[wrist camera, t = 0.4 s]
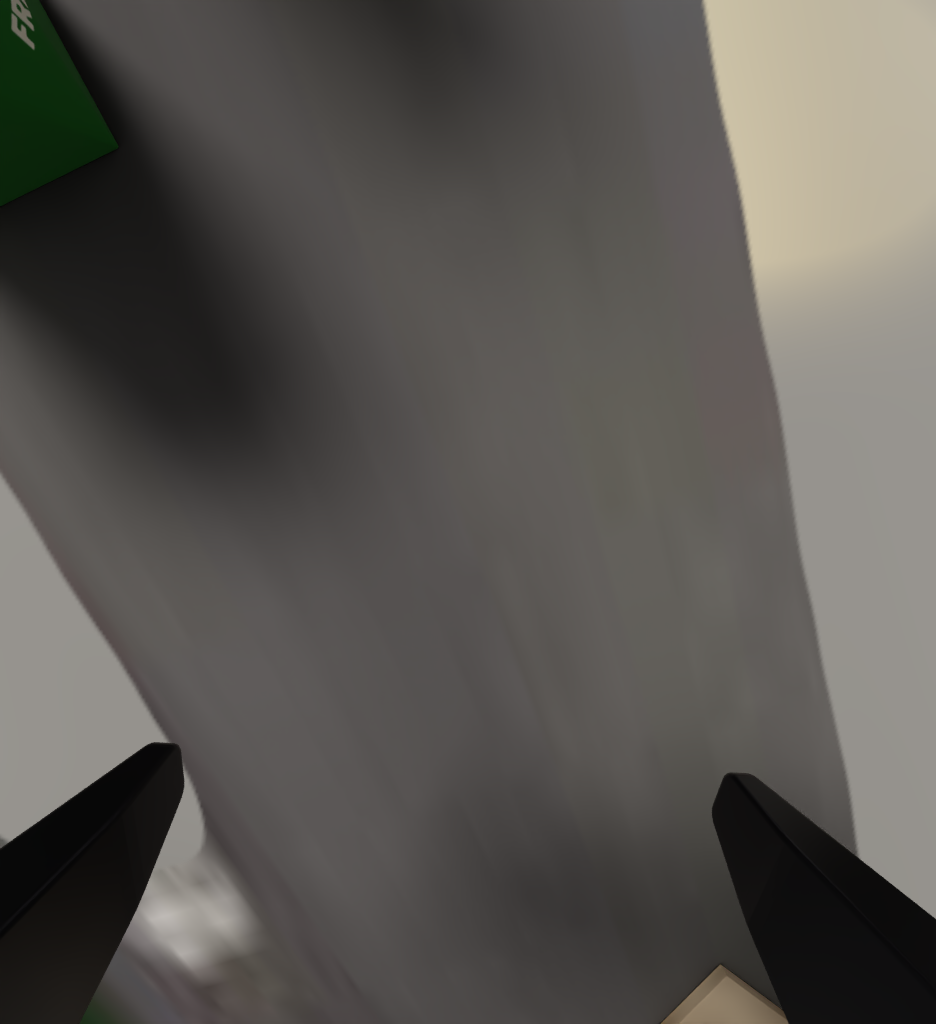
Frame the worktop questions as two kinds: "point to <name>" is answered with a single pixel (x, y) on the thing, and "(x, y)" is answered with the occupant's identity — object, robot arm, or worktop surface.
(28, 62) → the milk carton
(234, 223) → the worktop surface
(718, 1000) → the board
